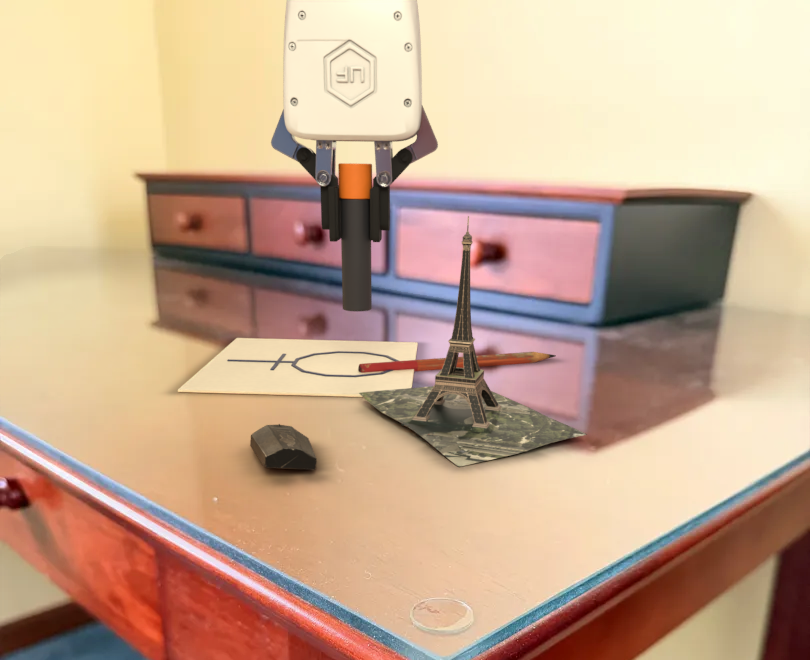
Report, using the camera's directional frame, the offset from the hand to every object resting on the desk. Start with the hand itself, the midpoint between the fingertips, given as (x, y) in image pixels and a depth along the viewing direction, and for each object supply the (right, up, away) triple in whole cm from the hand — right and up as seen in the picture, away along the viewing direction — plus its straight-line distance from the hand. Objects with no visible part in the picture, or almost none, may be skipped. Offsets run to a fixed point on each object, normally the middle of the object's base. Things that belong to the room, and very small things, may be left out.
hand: (356, 238), depth 66 cm
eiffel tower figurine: (+8, -16, -8) cm, 20 cm away
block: (-3, -20, -16) cm, 26 cm away
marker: (0, -5, +2) cm, 6 cm away
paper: (-4, -9, +6) cm, 12 cm away
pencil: (+9, -9, +7) cm, 15 cm away
